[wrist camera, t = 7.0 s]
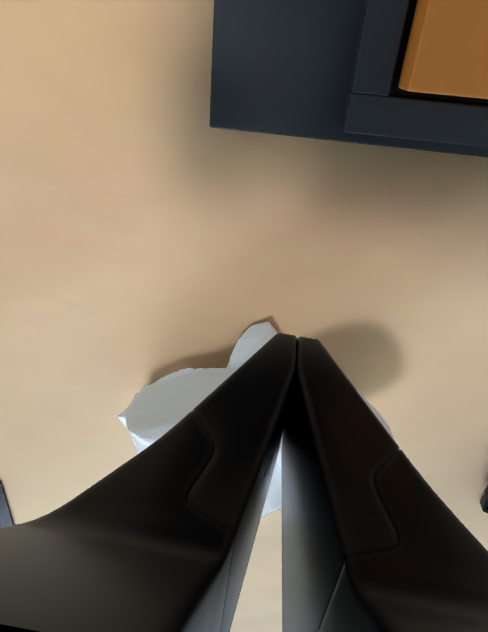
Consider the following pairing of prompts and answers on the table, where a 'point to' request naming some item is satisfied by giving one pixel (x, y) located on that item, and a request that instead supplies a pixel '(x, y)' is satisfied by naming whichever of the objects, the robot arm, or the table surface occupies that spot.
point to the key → (447, 49)
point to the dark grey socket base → (332, 77)
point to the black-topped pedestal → (4, 511)
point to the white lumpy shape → (191, 389)
